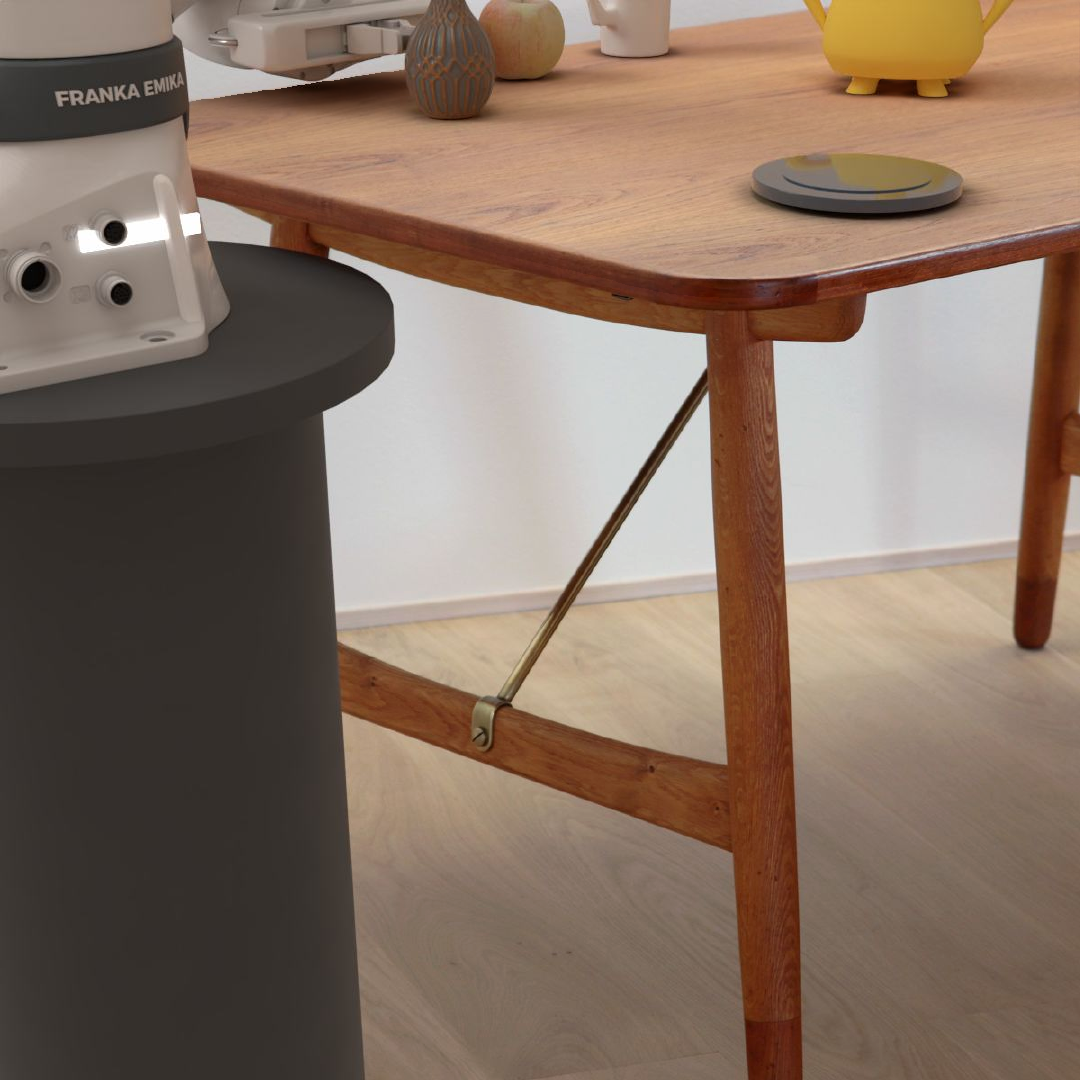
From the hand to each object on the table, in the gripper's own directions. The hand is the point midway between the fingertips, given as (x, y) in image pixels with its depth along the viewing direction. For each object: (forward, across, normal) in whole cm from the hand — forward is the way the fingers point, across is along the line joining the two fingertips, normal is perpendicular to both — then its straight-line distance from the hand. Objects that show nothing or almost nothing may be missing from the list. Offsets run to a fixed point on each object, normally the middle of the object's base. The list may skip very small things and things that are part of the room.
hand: (411, 41), depth 134 cm
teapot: (+21, +35, +5) cm, 41 cm away
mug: (-6, +30, +5) cm, 31 cm away
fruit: (-4, +15, +5) cm, 16 cm away
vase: (+4, 0, +5) cm, 7 cm away
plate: (+42, 0, +5) cm, 43 cm away
